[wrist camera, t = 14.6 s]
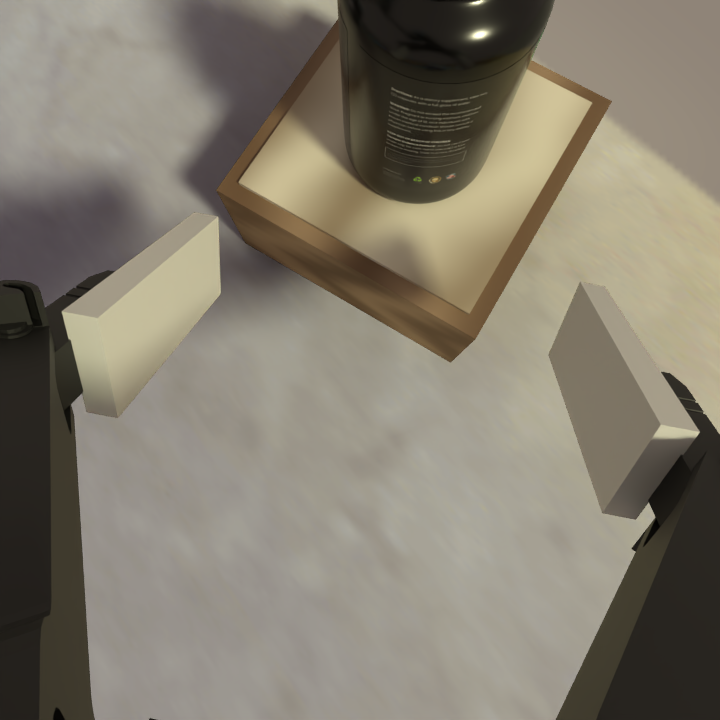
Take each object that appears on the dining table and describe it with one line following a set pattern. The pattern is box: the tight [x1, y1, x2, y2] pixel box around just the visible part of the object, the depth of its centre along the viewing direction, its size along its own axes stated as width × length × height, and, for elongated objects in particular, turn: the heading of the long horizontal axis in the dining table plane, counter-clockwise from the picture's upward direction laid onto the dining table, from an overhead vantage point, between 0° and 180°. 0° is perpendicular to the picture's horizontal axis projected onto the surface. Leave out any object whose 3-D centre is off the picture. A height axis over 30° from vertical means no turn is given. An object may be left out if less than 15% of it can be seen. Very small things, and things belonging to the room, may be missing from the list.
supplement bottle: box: [337, 0, 555, 204], centre depth 17 cm, size 7×7×12 cm
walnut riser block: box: [216, 20, 612, 362], centre depth 26 cm, size 14×14×6 cm
